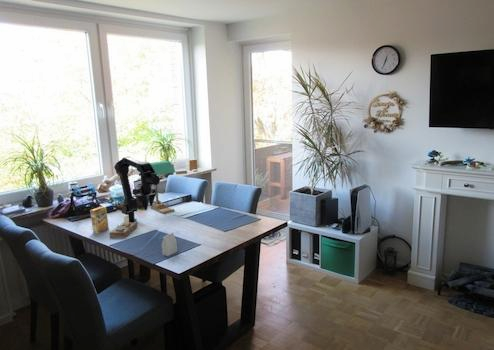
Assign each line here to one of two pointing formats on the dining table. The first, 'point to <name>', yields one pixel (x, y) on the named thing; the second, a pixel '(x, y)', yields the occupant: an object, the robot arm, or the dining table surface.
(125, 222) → the cream dowel
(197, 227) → the dining table surface
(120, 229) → the grey metal stub
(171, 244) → the tea bag
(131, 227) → the walnut socket block
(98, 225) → the candy box
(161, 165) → the banker's lamp
